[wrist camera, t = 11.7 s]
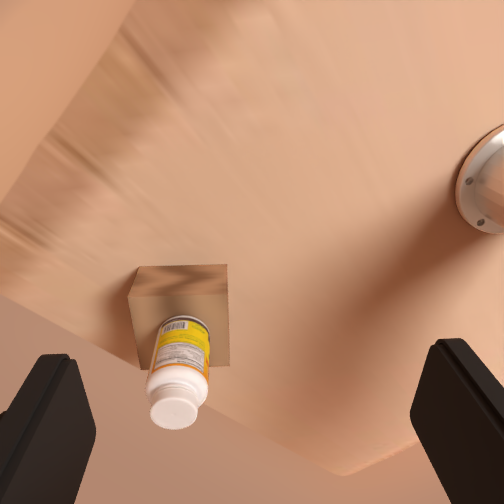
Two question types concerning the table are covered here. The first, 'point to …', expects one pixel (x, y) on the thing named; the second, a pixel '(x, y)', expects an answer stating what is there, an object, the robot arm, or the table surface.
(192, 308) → the walnut block
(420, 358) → the table surface
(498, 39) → the table surface
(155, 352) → the supplement bottle
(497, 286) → the table surface
